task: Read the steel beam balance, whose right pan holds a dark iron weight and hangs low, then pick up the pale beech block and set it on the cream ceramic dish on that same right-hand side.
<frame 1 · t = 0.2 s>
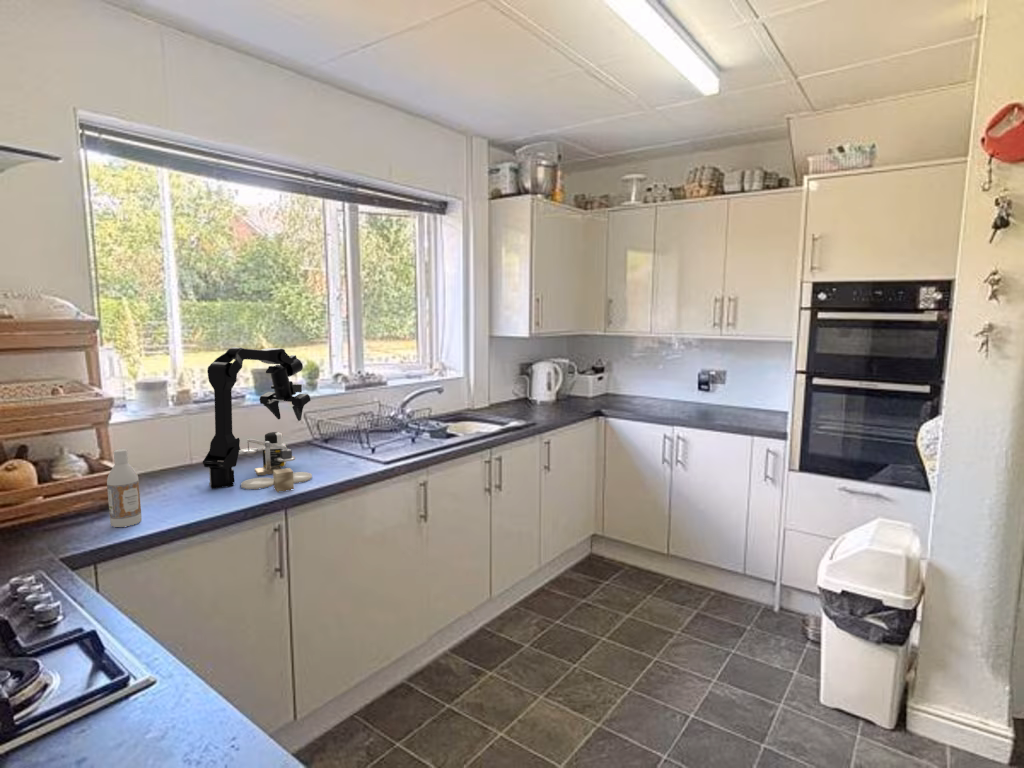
hand: (289, 419, 220), 15 cm above the worktop, tool pointing down, fingers open, 9 cm apart
dish right: (296, 479, 196), on the worktop
balance: (268, 472, 205), on the worktop
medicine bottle: (275, 465, 214), on the worktop
beech block: (283, 489, 186), on the worktop
bath foam: (126, 524, 155), on the worktop
dish left: (258, 484, 190), on the worktop
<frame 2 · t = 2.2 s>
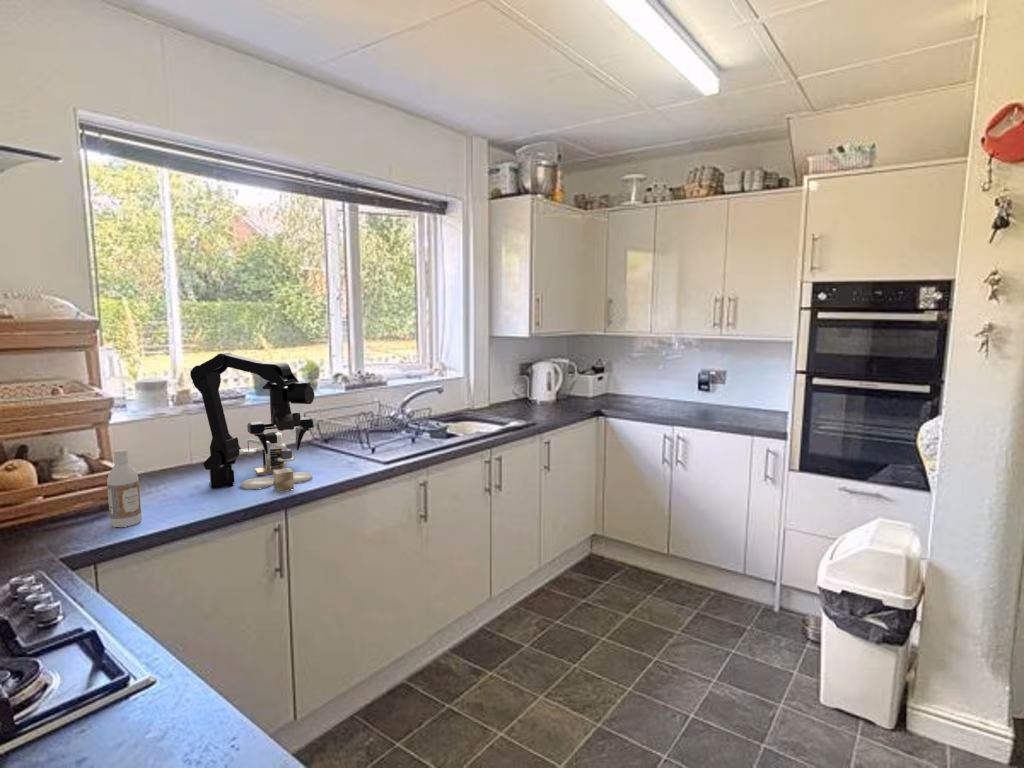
hand: (282, 452, 184), 12 cm above the worktop, tool pointing down, fingers open, 9 cm apart
nothing on the worktop moved.
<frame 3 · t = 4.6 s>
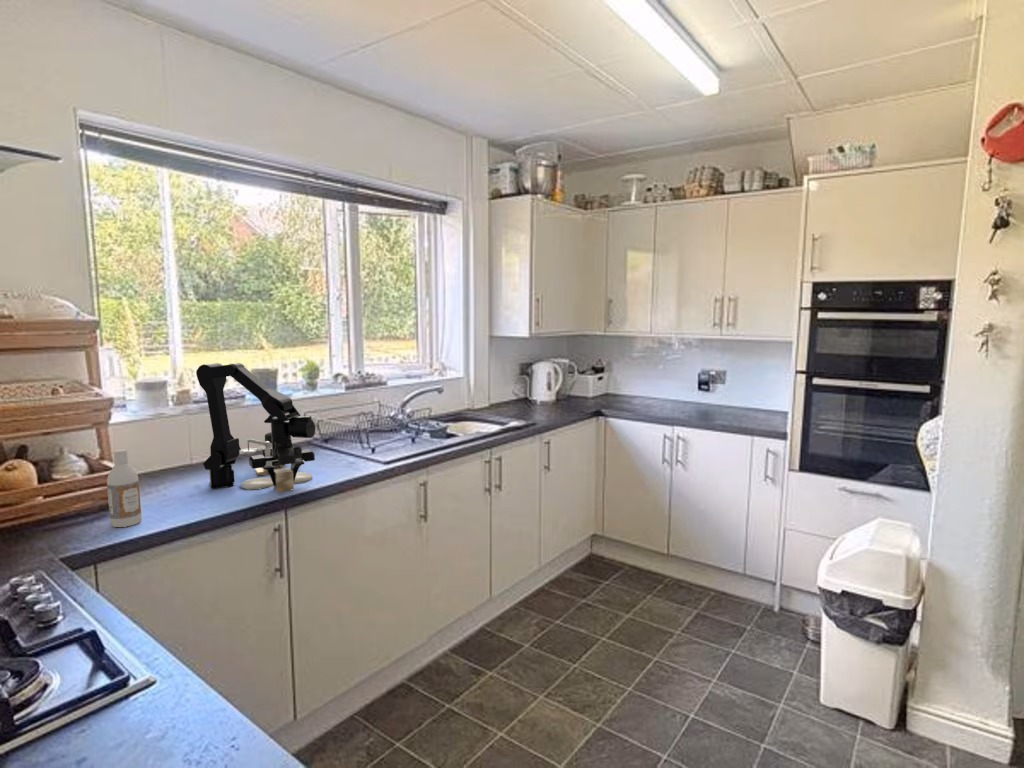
hand: (283, 484, 186), 1 cm above the worktop, tool pointing down, fingers closed on beech block, 5 cm apart
beech block: (283, 488, 186), on the worktop, touching gripper
everything else where it was.
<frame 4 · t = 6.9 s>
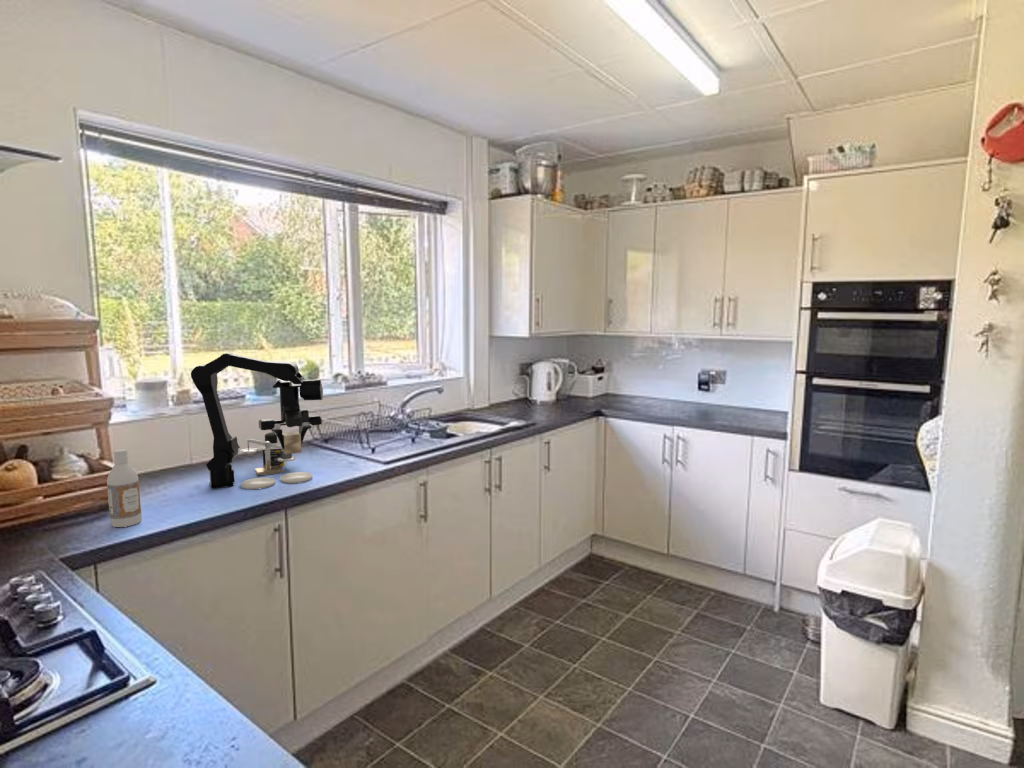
hand: (291, 447, 192), 12 cm above the worktop, tool pointing down, fingers closed on beech block, 5 cm apart
beech block: (291, 451, 192), point 10 cm above the worktop, touching gripper
everything else where it was.
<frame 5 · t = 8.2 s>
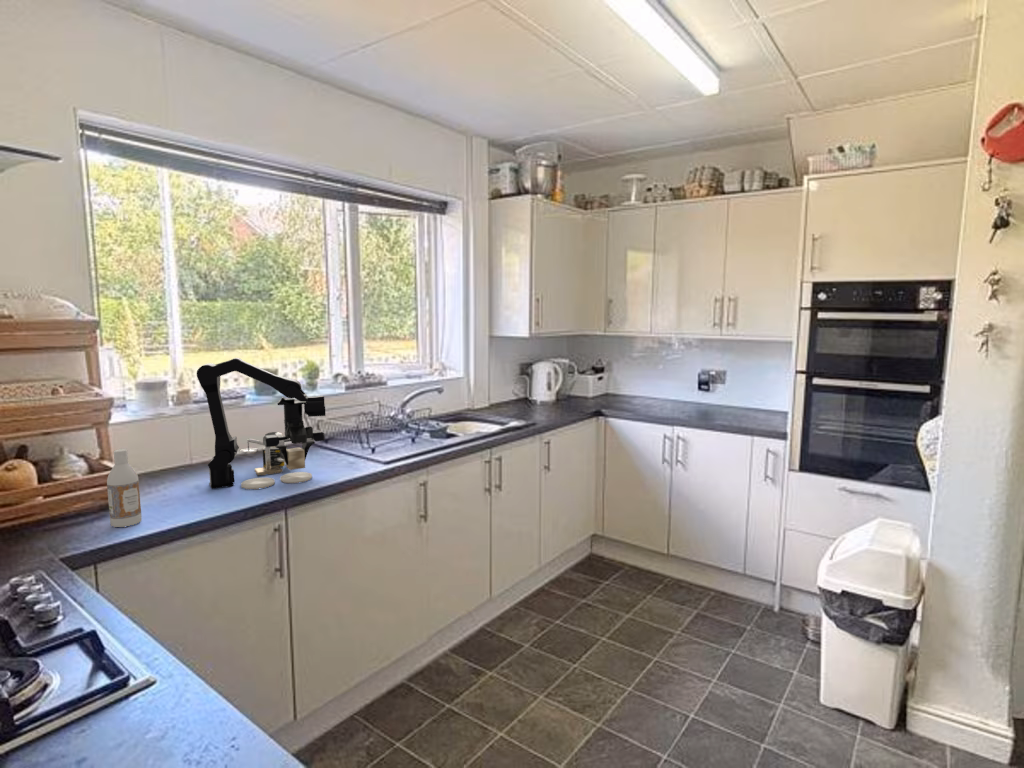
hand: (295, 463, 196), 5 cm above the worktop, tool pointing down, fingers closed on beech block, 5 cm apart
beech block: (295, 467, 196), point 4 cm above the worktop, touching gripper
everything else where it was.
when the fingers open (4 cm above the worktop, at t = 9.3 s): beech block drops 1 cm, resting on dish right.
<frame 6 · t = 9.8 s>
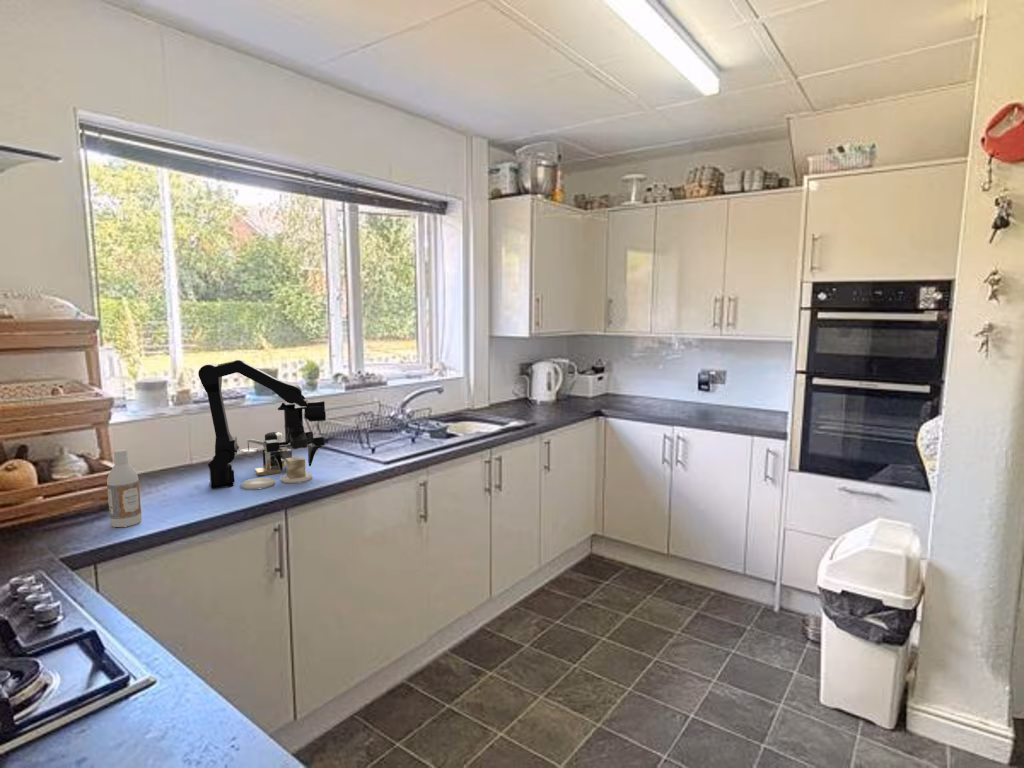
hand: (295, 468, 196), 4 cm above the worktop, tool pointing down, fingers open, 9 cm apart
beech block: (296, 476, 196), point 1 cm above the worktop, touching dish right
everything else where it was.
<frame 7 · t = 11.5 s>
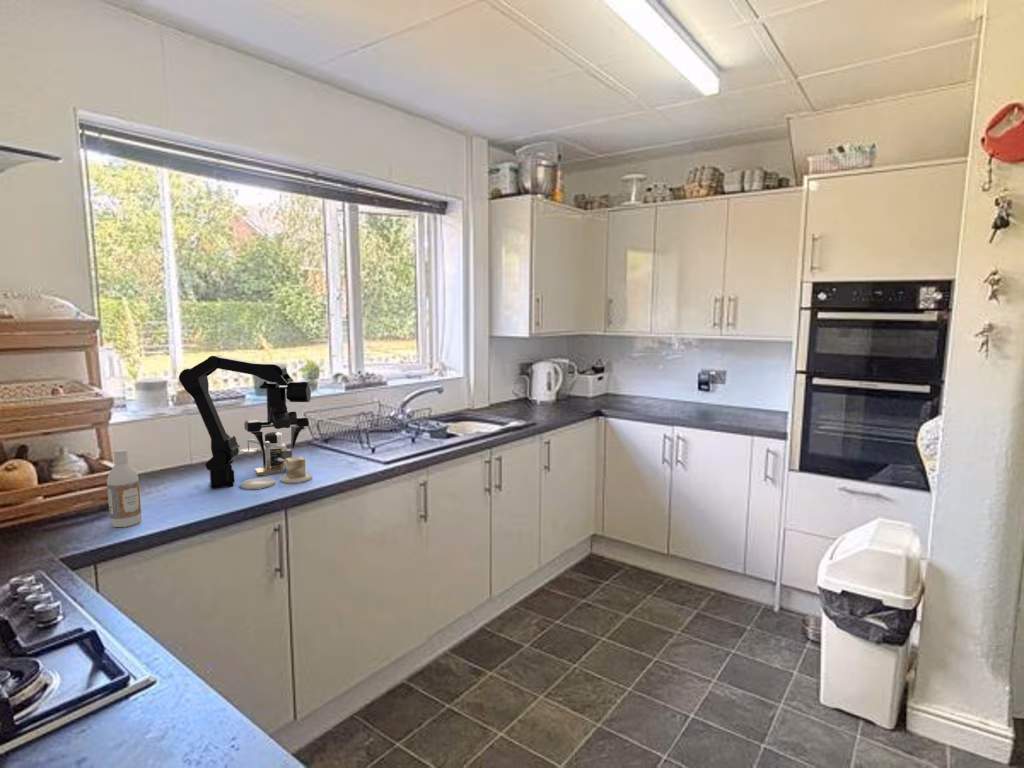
hand: (278, 449, 190), 11 cm above the worktop, tool pointing down, fingers open, 9 cm apart
nothing on the worktop moved.
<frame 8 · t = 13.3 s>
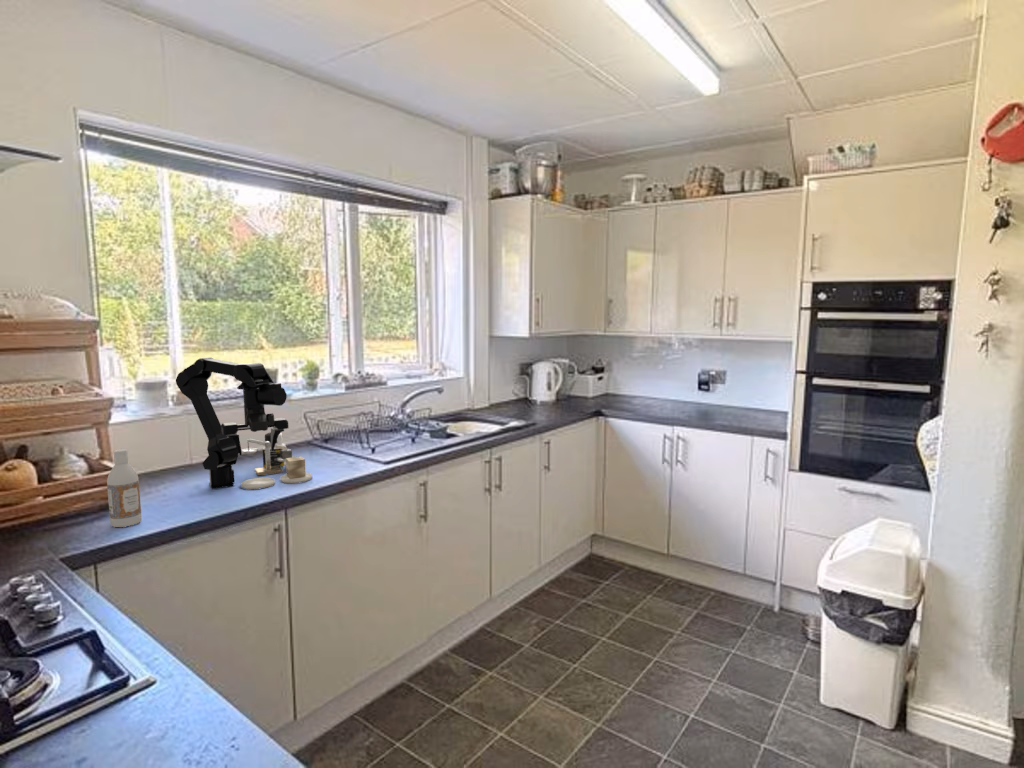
hand: (256, 453, 183), 12 cm above the worktop, tool pointing down, fingers open, 9 cm apart
nothing on the worktop moved.
at the end: beech block 0.0 cm off-centre on the dish right, point 1.0 cm above the dish right's base; beech block tilted 0°; the gripper is holding nothing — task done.
